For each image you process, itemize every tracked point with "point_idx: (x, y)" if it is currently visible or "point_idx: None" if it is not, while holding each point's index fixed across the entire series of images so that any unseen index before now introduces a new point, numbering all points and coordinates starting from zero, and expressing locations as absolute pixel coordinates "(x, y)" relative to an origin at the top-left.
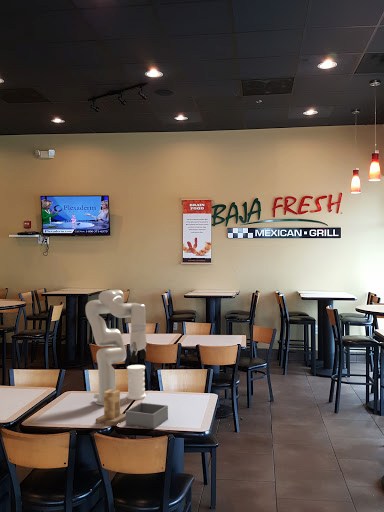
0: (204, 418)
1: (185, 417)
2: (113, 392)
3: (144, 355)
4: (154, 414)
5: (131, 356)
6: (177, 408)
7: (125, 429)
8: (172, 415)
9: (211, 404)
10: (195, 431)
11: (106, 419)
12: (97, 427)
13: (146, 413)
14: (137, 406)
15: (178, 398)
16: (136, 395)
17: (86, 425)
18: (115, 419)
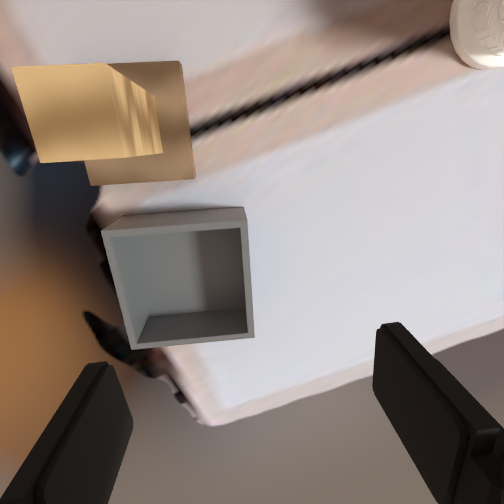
0: (299, 387)
1: (288, 342)
2: (53, 150)
3: (398, 429)
4: (140, 347)
5: (27, 458)
6: (368, 279)
7: (90, 239)
8: (291, 301)
9: (434, 349)
10: (192, 412)
11: None
12: None
13: (128, 322)
14: (200, 229)
15: (491, 221)
16: (477, 28)
17: (19, 46)
18: (111, 165)
